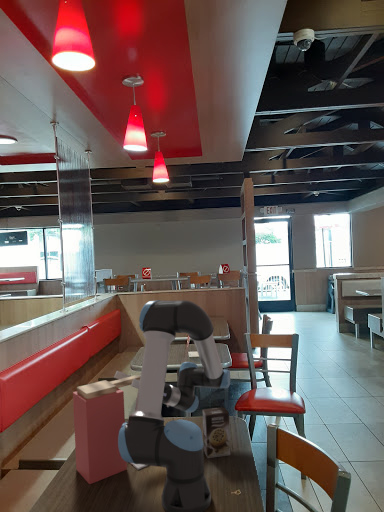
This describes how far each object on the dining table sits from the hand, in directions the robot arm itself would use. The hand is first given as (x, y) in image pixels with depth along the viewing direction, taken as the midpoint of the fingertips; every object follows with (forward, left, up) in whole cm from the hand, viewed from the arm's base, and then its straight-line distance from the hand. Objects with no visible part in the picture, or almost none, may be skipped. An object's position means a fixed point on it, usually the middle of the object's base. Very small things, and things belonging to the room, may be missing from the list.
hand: (123, 378), depth 149 cm
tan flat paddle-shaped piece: (-1, +5, -3) cm, 5 cm away
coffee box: (-11, -32, -31) cm, 46 cm away
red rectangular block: (-3, +10, -31) cm, 32 cm away
